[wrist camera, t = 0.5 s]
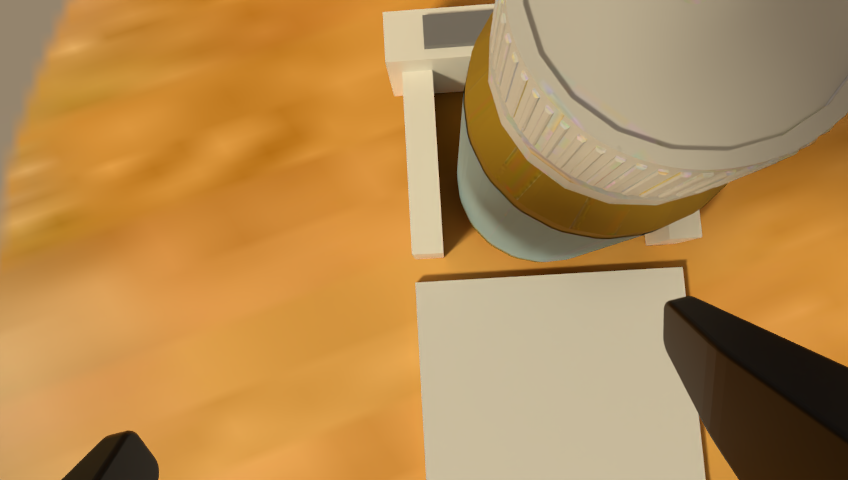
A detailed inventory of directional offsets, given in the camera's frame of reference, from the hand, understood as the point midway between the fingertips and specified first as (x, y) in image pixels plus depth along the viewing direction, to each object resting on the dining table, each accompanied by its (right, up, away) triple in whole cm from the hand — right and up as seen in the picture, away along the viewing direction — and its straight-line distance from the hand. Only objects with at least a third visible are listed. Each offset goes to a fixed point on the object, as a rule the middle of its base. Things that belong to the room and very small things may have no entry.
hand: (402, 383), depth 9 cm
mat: (+6, -5, +13) cm, 15 cm away
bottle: (+5, +5, +15) cm, 16 cm away
